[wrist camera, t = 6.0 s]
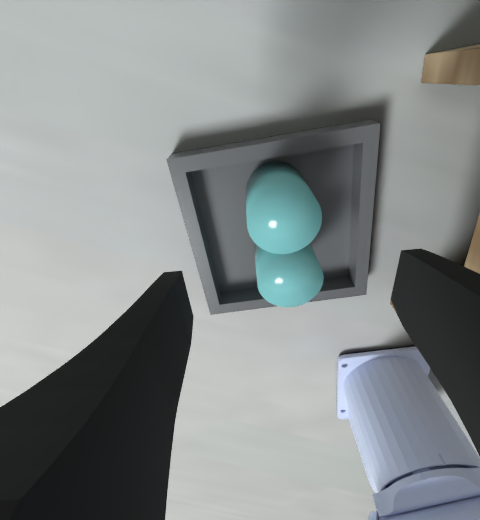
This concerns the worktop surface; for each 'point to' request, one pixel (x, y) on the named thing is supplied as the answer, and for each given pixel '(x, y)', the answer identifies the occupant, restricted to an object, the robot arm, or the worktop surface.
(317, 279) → the teal rounded cylinder
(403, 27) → the worktop surface
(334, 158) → the tray
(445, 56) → the shelf
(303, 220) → the teal rounded capsule
